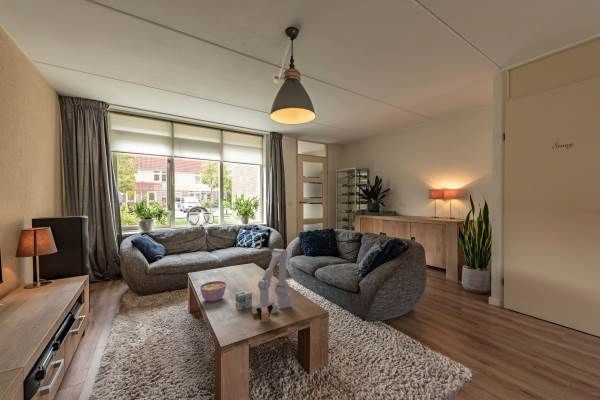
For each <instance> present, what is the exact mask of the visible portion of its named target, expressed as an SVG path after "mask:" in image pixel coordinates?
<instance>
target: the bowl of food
mask: <svg viewBox="0 0 600 400" xmlns="http://www.w3.org/2000/svg"><path fill="white" fill-rule="evenodd" d="M226 286H227V283H226V282H225V281H222V280H216V281H215V280H213V281H207V282H205V283H203V284H201V285H200V286H199V289H200V293H201V297H202V298H203V300H205V301H207V302H210V303H213V302H217V301H219V300H220V299H222V298H223V297H224V295H225V292H226Z"/></svg>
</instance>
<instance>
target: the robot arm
mask: <svg viewBox="0 0 600 400" xmlns="http://www.w3.org/2000/svg"><path fill="white" fill-rule="evenodd" d="M287 260H288V250H286V249H285V248H284V249H281V248H273V249H272V251H271V260H270V262H269V265H268V268H266V270H264V273H263V276H262V277H261V279H260V280H259V281H258V283H257V287H258V290H259V303H258V304H256V305H253V309H254V310H257V312H258V315H259V317H258V318H259V320H260V321H261V313H262V310H263V308H266V310H268V312H269V318H270V317H271V315H272V314H271V311H272V309H273V306H272V305H275V303H276V302H275V301H274V300H272V301H269V299H270V297H269V292H270V291H269V289H270V287H271V283H272V277H273V275H274V269H275V267H276V266H277V263H278V262H279V263H278V264H279V265H278V267H279V268H278V281H277V282H276V284H275V289H274V291H275V294H276V295H277V303H276V304H277V310H281V309H282V310H283V309H288V308H291V307H292V305H291V302H292V301H291V299H292V298H291V293H290V291H291V290H290V284H289V283H288V282H287ZM260 308H262V310H261V309H260Z"/></svg>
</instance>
